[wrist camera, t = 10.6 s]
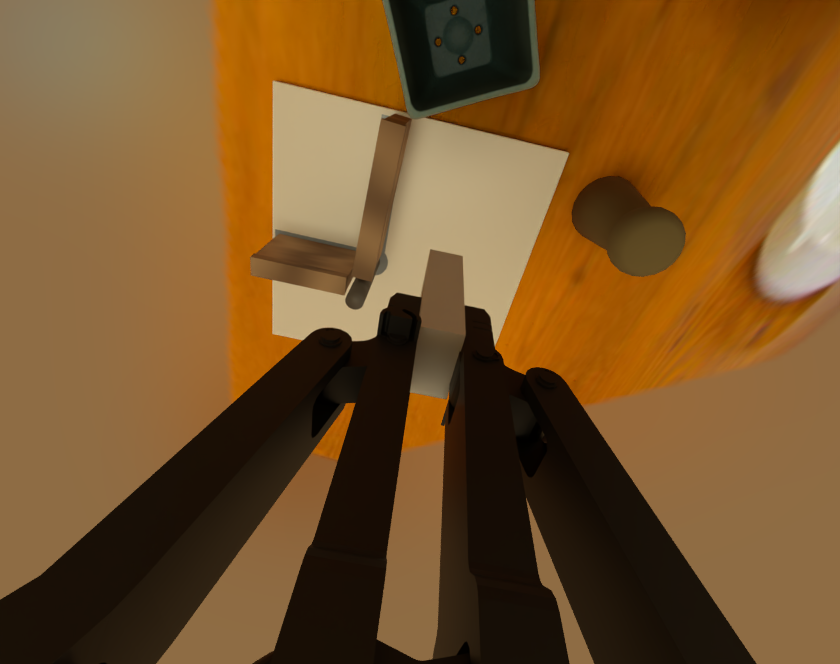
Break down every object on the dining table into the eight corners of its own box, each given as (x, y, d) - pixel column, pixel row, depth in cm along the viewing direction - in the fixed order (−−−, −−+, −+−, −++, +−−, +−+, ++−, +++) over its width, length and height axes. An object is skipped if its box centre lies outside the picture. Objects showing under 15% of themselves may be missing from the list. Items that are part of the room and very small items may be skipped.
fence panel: (383, 253, 40) (371, 281, 34) (365, 248, 40) (351, 276, 34) (413, 119, 33) (405, 126, 27) (393, 112, 33) (380, 118, 27)
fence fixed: (381, 254, 40) (365, 294, 33) (378, 270, 41) (362, 312, 34) (279, 232, 40) (238, 266, 32) (279, 248, 41) (239, 286, 33)
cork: (644, 172, 35) (711, 204, 26) (632, 237, 39) (689, 285, 29) (574, 179, 36) (617, 212, 27) (568, 242, 39) (604, 291, 30)
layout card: (566, 151, 35) (569, 153, 34) (482, 372, 49) (482, 378, 48) (277, 80, 34) (272, 80, 33) (275, 329, 47) (272, 334, 47)
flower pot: (521, 85, 33) (541, 85, 25) (418, 113, 34) (409, 121, 27) (508, -56, 28) (528, -107, 21) (391, -15, 30) (370, -49, 22)
